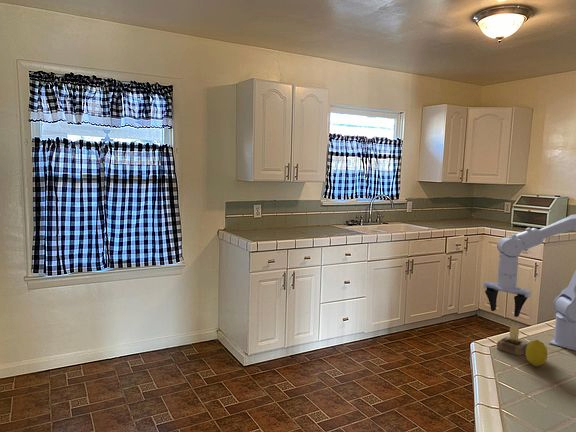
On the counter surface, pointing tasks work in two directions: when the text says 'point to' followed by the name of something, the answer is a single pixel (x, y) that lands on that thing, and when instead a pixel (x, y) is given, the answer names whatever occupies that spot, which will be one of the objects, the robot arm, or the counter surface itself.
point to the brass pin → (514, 334)
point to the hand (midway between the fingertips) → (504, 313)
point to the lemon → (536, 353)
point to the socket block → (512, 346)
